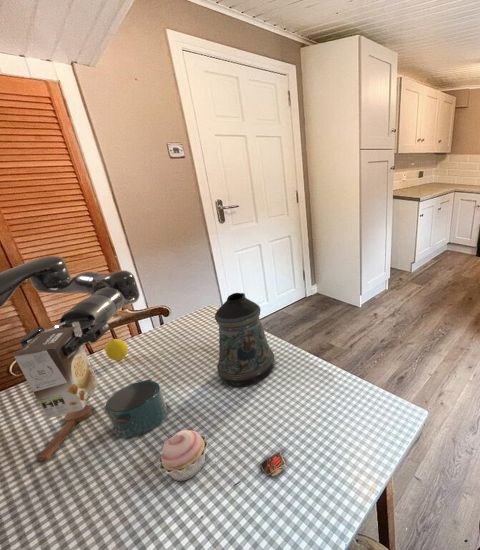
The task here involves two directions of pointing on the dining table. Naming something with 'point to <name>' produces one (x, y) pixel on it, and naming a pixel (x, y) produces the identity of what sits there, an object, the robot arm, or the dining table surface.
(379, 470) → the dining table surface
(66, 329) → the coffee box
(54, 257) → the robot arm
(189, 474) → the cupcake
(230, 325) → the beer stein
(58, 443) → the wooden spoon
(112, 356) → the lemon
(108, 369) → the dining table surface
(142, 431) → the enamel pot
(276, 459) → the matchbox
